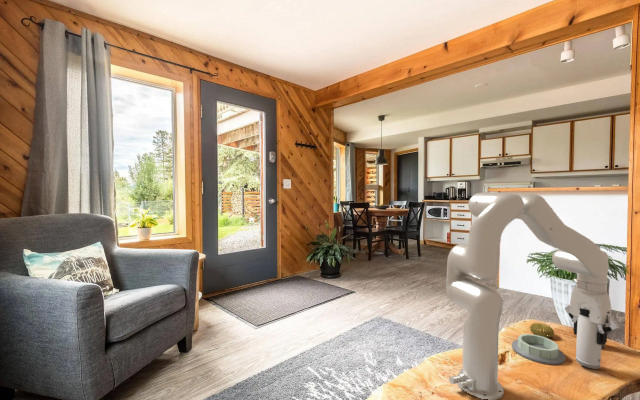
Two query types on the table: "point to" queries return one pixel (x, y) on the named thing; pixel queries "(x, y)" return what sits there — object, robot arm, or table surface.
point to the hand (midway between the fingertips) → (589, 338)
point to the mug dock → (540, 360)
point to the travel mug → (587, 341)
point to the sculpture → (547, 330)
